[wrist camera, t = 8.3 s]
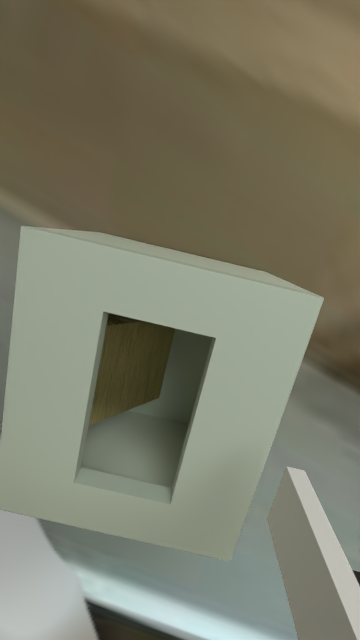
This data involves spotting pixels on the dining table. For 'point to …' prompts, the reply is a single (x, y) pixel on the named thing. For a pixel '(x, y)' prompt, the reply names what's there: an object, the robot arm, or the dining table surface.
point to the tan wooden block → (130, 365)
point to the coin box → (157, 415)
